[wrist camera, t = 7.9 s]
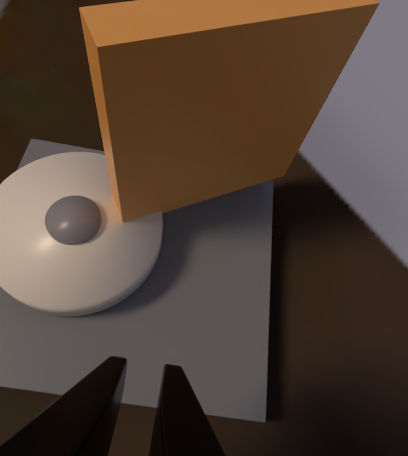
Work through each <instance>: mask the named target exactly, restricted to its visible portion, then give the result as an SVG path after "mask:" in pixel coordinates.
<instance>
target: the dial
mask: <svg viewBox="0 0 408 456" xmlns="http://www.w3.org/2000/svg"><path fill="white" fill-rule="evenodd" d="M378 5H379V2H378V1H377V0H137V1H128V2H120V3H112V4H104V5H96V6H87V7H79V9H80V15H81V21H82V26H83V32H84V38H85V43H86V49H87V55H88V61H89V66H90V72H91V78H92V83H93V89H94V95H95V100H96V106H97V112H98V117H99V123H100V129H101V134H102V140H103V146H104V151H105V155H102V154H98V153H90V152H67V153H60V154H55V155H51V156H47V157H44V158H41V159H38V160H36V161H33V162H31V163H29V164H27V165H25V166H23V167H22V168H20V169H19V170H17V171H16V172H14V173H13V174H11V175H10V176H9V177H8V178H7V179H5V180H4V181H3V182H2V183H1V184H0V287H1V288H2V289H4V290H5V291H6V292H7V293H8V294H9V295H11V296H12V297H13V298H14V299H16V300H17V301H18V302H20V303H21V304H23V305H25V306H27V307H29V308H30V309H33V310H35V311H38V312H41V313H44V314H49V315H54V316H67V317H68V316H82V315H87V314H93V313H96V312H99V311H102V310H105V309H107V308H110V307H112V306H114V305H116V304H118V303H119V302H121V301H123V300H124V299H126V298H127V297H128V296H130V295H131V294H132V293H134V292H135V291H136V290H137V289H138V288H139V287H140V286H141V285H142V284H143V283H144V281H145V280H146V279H147V277H148V276H149V275H150V273H151V271H152V270H153V268H154V266H155V264H156V261H157V259H158V257H159V253H160V249H161V242H162V228H163V220H162V213H166V212H169V211H172V210H175V209H178V208H182V207H185V206H188V205H191V204H195V203H198V202H201V201H204V200H207V199H211V198H214V197H217V196H220V195H224V194H227V193H230V192H233V191H236V190H240V189H243V188H246V187H249V186H253V185H256V184H259V183H262V182H266V181H269V180H272V179H275V178H278V177H282V176H284V175H285V173H286V171H287V169H288V167H289V166H290V164H291V162H292V160H293V158H294V157H295V155H296V153H297V151H298V149H299V148H300V146H301V144H302V142H303V140H304V139H305V137H306V135H307V133H308V131H309V130H310V128H311V126H312V124H313V122H314V120H315V119H316V117H317V115H318V113H319V111H320V110H321V108H322V106H323V104H324V102H325V101H326V99H327V97H328V95H329V93H330V92H331V89H332V88H333V86H334V84H335V83H336V80H337V79H338V77H339V75H340V74H341V72H342V70H343V68H344V66H345V64H346V63H347V61H348V59H349V57H350V55H351V54H352V52H353V50H354V48H355V46H356V45H357V43H358V41H359V39H360V37H361V36H362V34H363V32H364V30H365V28H366V27H367V25H368V23H369V21H370V19H371V18H372V16H373V14H374V12H375V10H376V8H377V7H378Z"/></svg>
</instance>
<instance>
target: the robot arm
mask: <svg viewBox="0 0 408 456" xmlns="http://www.w3.org/2000/svg"><path fill="white" fill-rule="evenodd" d="M126 370H127V359H126V358H124V357H118V356H110V357H108V358H107V359H106V360H104V361H103V362H102V363H101V364H100V365H98V366H97V367H96V368H95V369H93V370H92V371H91V372H90V373H89V374H87V375H86V376H85V377H84V378H82V379H81V380H80V381H79V382H78V383H76V384H75V385H74V386H73V387H71V388H70V389H69V390H68V391H67V392H65V393H64V394H63V395H62V396H60V397H59V398H58V399H57V400H56V401H54V402H53V403H52V404H51V405H49V406H48V407H47V408H46V409H45V410H43V411H42V412H41V413H40V414H38V415H37V416H36V417H35V418H34V419H32V420H31V421H30V422H29V423H27V424H26V425H25V426H24V427H23V428H21V429H20V430H19V431H18V432H16V433H15V434H14V435H13V436H12V437H10V438H9V439H8V440H7V441H5V442H4V443H3V444H2V445H1V446H0V456H108V453H109V449H110V445H111V441H112V436H113V432H114V428H115V424H116V420H117V416H118V412H119V408H120V404H121V400H122V396H123V391H124V385H125V377H126ZM149 456H225V454H224V452H223V449H222V447H221V445H220V443H219V441H218V439H217V437H216V435H215V433H214V431H213V429H212V427H211V425H210V423H209V421H208V419H207V417H206V415H205V413H204V411H203V409H202V407H201V405H200V403H199V401H198V399H197V397H196V395H195V393H194V391H193V388H192V386H191V384H190V382H189V380H188V378H187V376H186V374H185V372H184V370H183V368H182V367H181V366H179V365H172V364H165V365H164V368H163V374H162V380H161V385H160V391H159V397H158V403H157V409H156V415H155V422H154V428H153V434H152V440H151V446H150V452H149Z"/></svg>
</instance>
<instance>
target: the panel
mask: <svg viewBox="0 0 408 456" xmlns="http://www.w3.org/2000/svg"><path fill="white" fill-rule="evenodd" d="M67 152H90V153H98V154H102V155H105V152H104V151H99V150H93V149H87V148H82V147H76V146H70V145H65V144H59V143H54V142H48V141H42V140H37V139H31V141H30V143H29V145H28V148H27V150H26V152H25V154H24V156H23V158H22V161H21V163H20V165H19V167H18V169H17V170H19V169H20V168H22V167H23V166H25V165H27V164H29V163H31V162H33V161H36V160H38V159H41V158H44V157H47V156H51V155H55V154H60V153H67ZM272 212H273V181H266V182H262V183H259V184H256V185H253V186H249V187H246V188H243V189H240V190H236V191H233V192H230V193H227V194H224V195H220V196H217V197H214V198H211V199H207V200H204V201H201V202H198V203H195V204H191V205H188V206H185V207H182V208H178V209H175V210H172V211H169V212H166V213H162V220H163V228H162V242H161V249H160V253H159V257H158V259H157V261H156V264H155V266H154V268H153V270H152V271H151V273H150V275H149V276H148V277H147V279H146V280H145V281H144V283H143V284H142V285H141V286H140V287H139V288H138V289H137V290H136V291H135V292H134V293H132V294H131V295H130V296H128V297H127V298H126V299H124V300H123V301H121V302H119V303H118V304H116V305H114V306H112V307H110V308H107V309H105V310H102V311H99V312H96V313H93V314H87V315H82V316H68V317H67V316H54V315H49V314H44V313H41V312H38V311H35V310H33V309H30V308H29V307H27V306H25V305H23V304H21V303H20V302H18V301H17V300H16V299H14V298H13V297H12V296H11V295H9V294H8V293H7V292H6V291H5V290H4V289H2V288H1V287H0V387H5V388H12V389H20V390H27V391H34V392H42V393H49V394H56V395H63V394H64V393H65V392H67V391H68V390H69V389H70V388H71V387H73V386H74V385H75V384H76V383H78V382H79V381H80V380H81V379H82V378H84V377H85V376H86V375H87V374H89V373H90V372H91V371H92V370H93V369H95V368H96V367H97V366H98V365H100V364H101V363H102V362H103V361H104V360H106V359H107V358H108V357H110V356H118V357H124V358H126V359H127V370H126V377H125V385H124V391H123V396H122V400H121V403H122V404H129V405H137V406H144V407H151V408H157V403H158V397H159V391H160V385H161V380H162V374H163V368H164V365H165V364H172V365H179V366H181V367H182V368H183V370H184V372H185V374H186V376H187V378H188V380H189V382H190V384H191V386H192V388H193V391H194V393H195V395H196V397H197V399H198V401H199V403H200V405H201V407H202V409H203V411H204V413H205V415H210V416H217V417H224V418H232V419H239V420H246V421H254V422H264V423H266V399H267V368H268V337H269V305H270V274H271V243H272Z"/></svg>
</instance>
